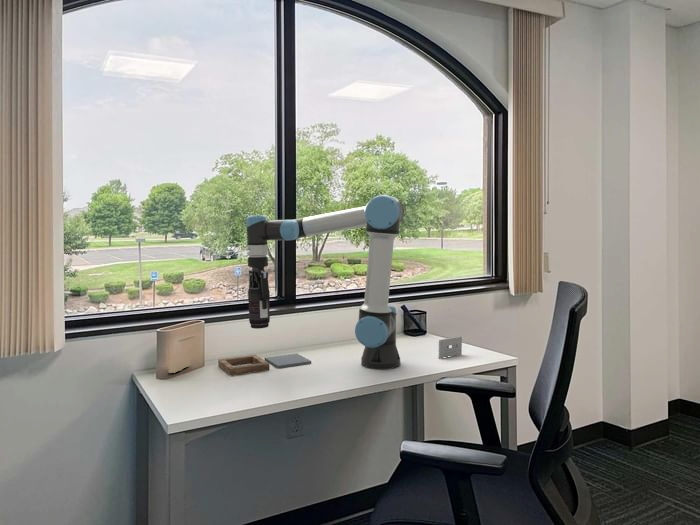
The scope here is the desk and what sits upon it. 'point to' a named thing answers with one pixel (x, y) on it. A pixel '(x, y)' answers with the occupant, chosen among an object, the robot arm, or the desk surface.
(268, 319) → the camera lens
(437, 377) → the desk surface
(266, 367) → the brown flat square frame
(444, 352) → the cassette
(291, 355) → the mat
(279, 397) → the desk surface
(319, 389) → the desk surface
